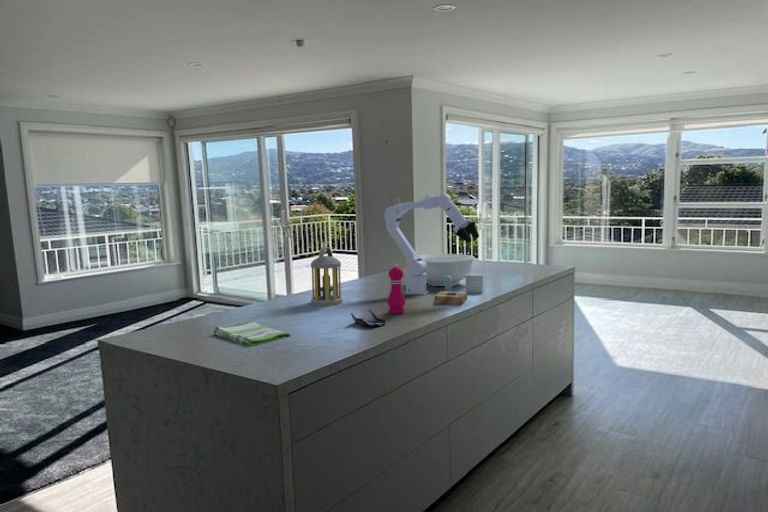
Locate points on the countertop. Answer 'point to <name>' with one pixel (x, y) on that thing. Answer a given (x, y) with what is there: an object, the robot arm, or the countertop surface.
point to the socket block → (450, 297)
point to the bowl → (447, 267)
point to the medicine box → (474, 283)
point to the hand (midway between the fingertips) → (473, 239)
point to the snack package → (369, 320)
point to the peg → (448, 283)
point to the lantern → (326, 279)
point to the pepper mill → (396, 291)
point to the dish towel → (249, 333)
